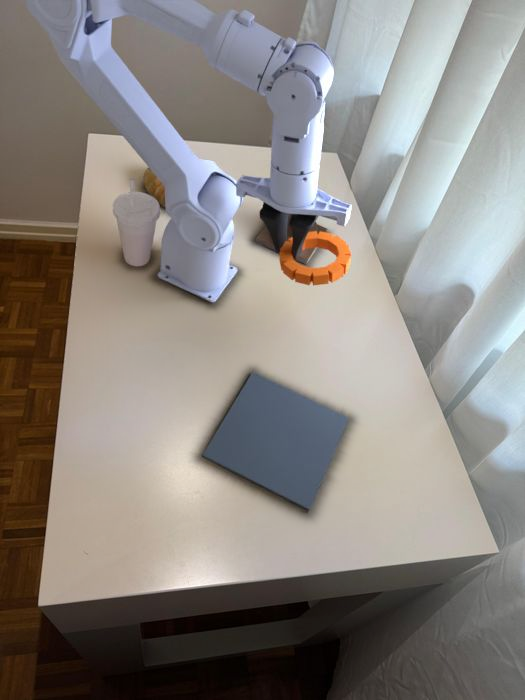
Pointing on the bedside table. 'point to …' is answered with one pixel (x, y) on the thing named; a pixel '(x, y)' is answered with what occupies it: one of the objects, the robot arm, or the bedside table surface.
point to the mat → (277, 440)
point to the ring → (323, 273)
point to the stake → (305, 254)
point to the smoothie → (136, 224)
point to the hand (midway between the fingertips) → (288, 251)
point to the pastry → (154, 186)
